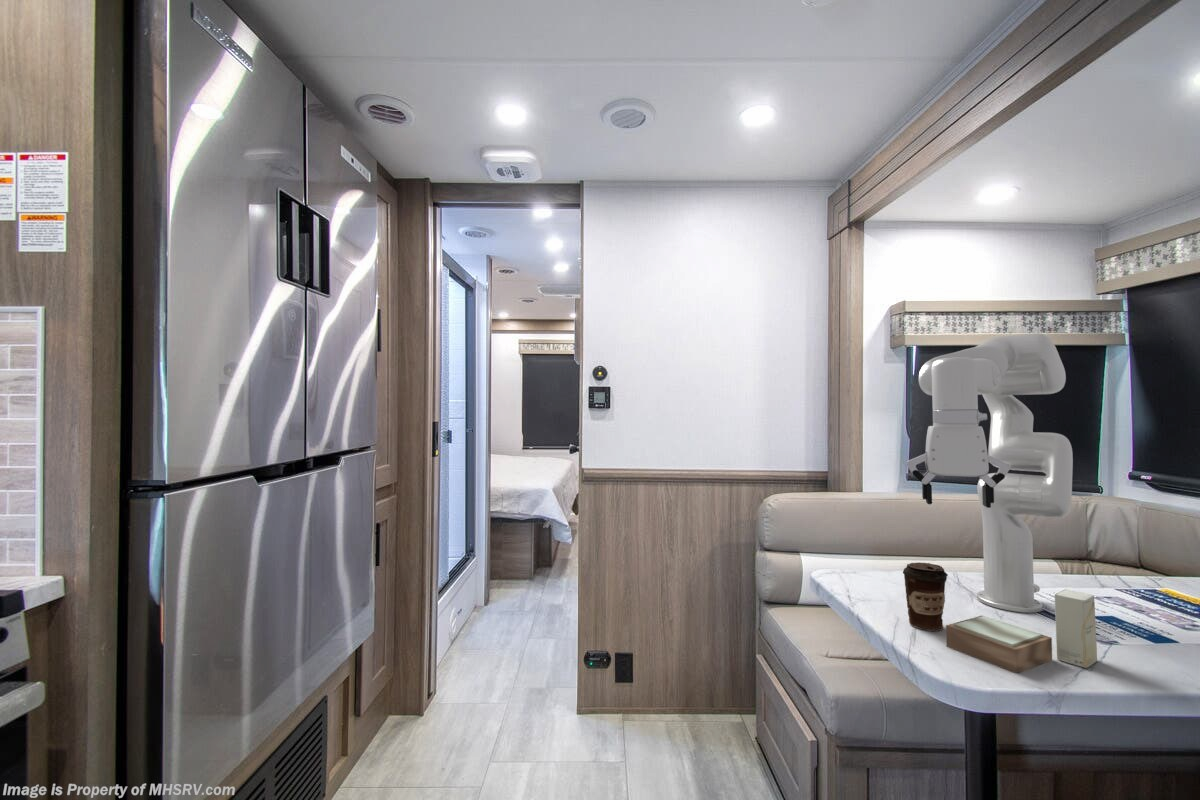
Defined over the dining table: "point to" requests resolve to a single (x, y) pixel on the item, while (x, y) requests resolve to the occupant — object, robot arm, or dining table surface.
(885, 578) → the dining table surface
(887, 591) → the dining table surface
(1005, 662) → the walnut plinth
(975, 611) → the dining table surface
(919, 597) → the coffee cup
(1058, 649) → the skincare box
